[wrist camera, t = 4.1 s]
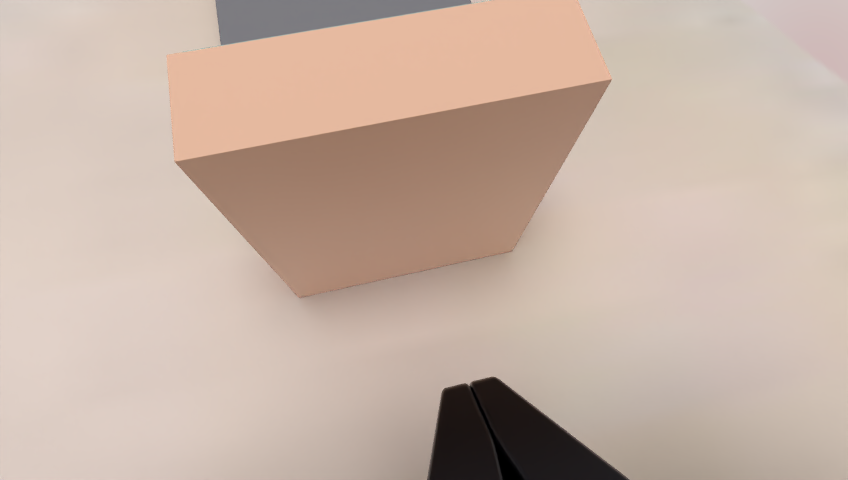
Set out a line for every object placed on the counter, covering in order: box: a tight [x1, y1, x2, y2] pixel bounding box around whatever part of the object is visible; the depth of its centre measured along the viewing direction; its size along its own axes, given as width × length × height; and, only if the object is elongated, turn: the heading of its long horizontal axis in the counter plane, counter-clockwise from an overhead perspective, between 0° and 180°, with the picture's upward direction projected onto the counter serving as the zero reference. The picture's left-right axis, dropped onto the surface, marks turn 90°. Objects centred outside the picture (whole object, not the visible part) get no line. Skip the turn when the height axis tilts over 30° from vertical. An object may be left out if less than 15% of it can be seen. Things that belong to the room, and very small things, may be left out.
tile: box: [167, 0, 612, 298], centre depth 14 cm, size 2×8×10 cm, turn 103°
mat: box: [216, 0, 471, 45], centre depth 21 cm, size 13×11×1 cm
